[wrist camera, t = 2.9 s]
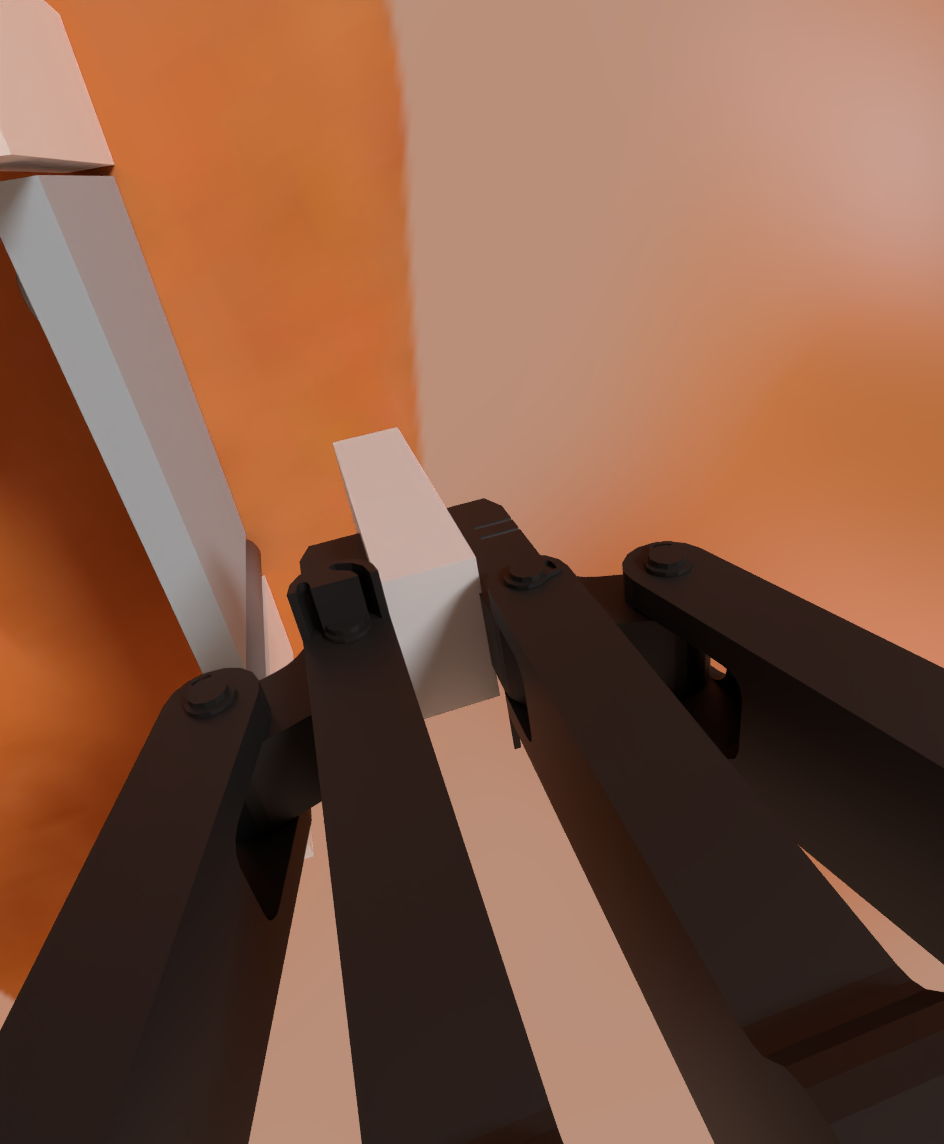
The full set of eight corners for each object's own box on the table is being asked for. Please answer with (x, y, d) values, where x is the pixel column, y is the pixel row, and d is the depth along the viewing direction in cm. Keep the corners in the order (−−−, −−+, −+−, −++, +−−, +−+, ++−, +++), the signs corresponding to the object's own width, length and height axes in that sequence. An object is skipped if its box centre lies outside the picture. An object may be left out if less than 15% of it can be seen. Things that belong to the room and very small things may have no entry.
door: (266, 568, 31) (275, 734, 22) (204, 585, 30) (187, 761, 21) (123, 174, 23) (41, 172, 14) (36, 189, 22) (-108, 197, 13)
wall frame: (5, 21, 20) (-227, -132, 10) (59, 13, 21) (-117, -143, 11) (261, 661, 33) (269, 871, 23) (292, 652, 33) (313, 855, 23)
